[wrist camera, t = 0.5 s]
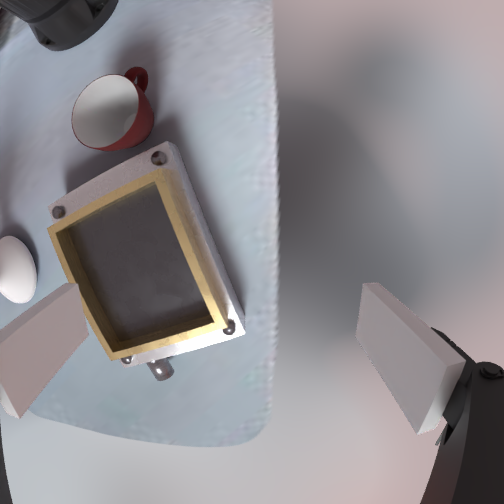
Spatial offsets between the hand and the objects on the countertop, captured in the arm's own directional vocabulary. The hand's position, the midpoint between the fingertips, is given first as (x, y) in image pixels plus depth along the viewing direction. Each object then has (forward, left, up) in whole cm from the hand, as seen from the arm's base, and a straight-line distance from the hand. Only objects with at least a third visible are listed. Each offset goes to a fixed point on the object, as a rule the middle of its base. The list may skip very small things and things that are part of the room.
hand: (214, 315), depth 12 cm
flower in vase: (-7, -36, -25) cm, 44 cm away
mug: (-18, -7, -25) cm, 32 cm away
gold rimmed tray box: (+2, -12, -25) cm, 28 cm away
